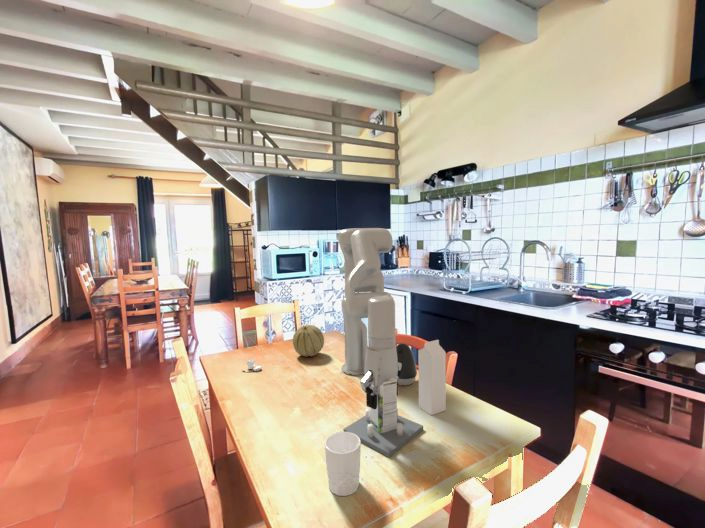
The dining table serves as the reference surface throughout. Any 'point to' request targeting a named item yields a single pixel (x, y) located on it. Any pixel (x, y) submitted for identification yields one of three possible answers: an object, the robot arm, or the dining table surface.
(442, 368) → the milk
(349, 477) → the white cup
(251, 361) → the pacifier
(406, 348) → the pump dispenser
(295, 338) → the cantaloupe
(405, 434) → the standoff base
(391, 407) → the syrup box
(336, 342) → the dining table surface
